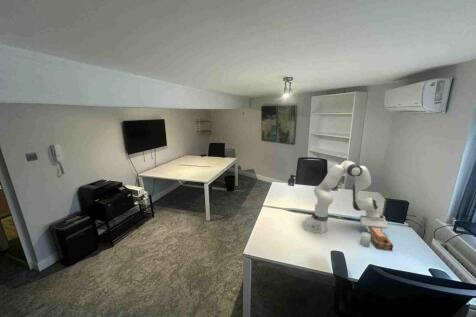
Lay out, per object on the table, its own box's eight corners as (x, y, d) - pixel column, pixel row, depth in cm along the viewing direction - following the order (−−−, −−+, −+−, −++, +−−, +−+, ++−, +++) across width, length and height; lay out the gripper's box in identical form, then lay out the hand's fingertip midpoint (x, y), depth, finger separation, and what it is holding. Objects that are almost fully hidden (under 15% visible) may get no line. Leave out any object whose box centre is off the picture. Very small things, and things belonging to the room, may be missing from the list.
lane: (375, 248, 147) (376, 243, 146) (369, 239, 159) (370, 233, 158) (392, 250, 145) (393, 245, 144) (384, 240, 156) (385, 235, 155)
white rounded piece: (361, 246, 150) (363, 236, 148) (358, 241, 157) (360, 231, 154) (370, 247, 149) (372, 237, 147) (367, 242, 155) (368, 232, 153)
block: (376, 244, 152) (378, 235, 151) (370, 235, 164) (371, 227, 162) (383, 245, 151) (385, 236, 149) (376, 236, 163) (377, 227, 161)
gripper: (360, 214, 167) (363, 230, 160) (386, 216, 162) (390, 233, 155) (357, 216, 172) (360, 231, 165) (383, 218, 167) (387, 234, 160)
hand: (375, 232), depth 160 cm, fingers open, 8 cm apart
